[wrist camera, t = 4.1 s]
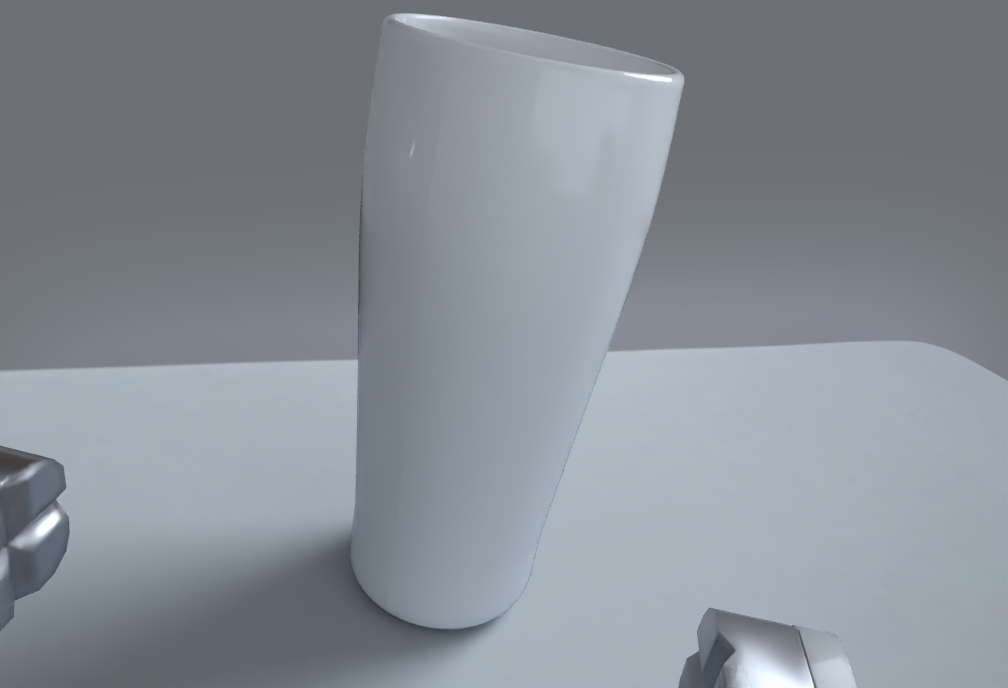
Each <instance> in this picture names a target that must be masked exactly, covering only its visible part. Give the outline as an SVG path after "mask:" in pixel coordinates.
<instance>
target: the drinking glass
mask: <svg viewBox="0 0 1008 688" xmlns="http://www.w3.org/2000/svg"><path fill="white" fill-rule="evenodd" d="M381 30H382V31H381V38H380V44H379V50H378V57H377V63H376V69H375V76H374V82H373V89H372V96H371V103H370V111H369V119H368V127H367V136H366V145H365V155H364V167H363V179H362V193H361V210H360V236H359V237H360V239H359V304H358V389H357V448H356V489H355V509H354V517H353V526H352V534H351V546H350V555H351V563H352V567H353V571H354V574H355V576H356V578H357V580H358V582H359V584H360V586H361V587H362V589H363V590H364V592H365V593H366V594H367V595H368V596H369V598H370V599H372V600H373V601H374V602H375V603H376V604H377V605H378V606H380V607H381V608H382V609H384V610H385V611H387V612H388V613H390V614H391V615H393V616H395V617H397V618H399V619H401V620H404V621H406V622H409V623H412V624H415V625H419V626H423V627H428V628H435V629H462V628H468V627H473V626H477V625H480V624H484V623H486V622H489V621H491V620H493V619H495V618H497V617H499V616H500V615H502V614H503V613H505V612H506V611H507V610H509V609H510V608H511V607H512V606H513V605H514V604H515V603H516V602H517V601H518V599H519V598H520V597H521V595H522V594H523V592H524V590H525V588H526V586H527V584H528V581H529V578H530V576H531V572H532V568H533V564H534V560H535V556H536V552H537V548H538V544H539V540H540V537H541V534H542V531H543V528H544V525H545V522H546V519H547V516H548V513H549V511H550V508H551V505H552V502H553V499H554V496H555V493H556V491H557V488H558V485H559V482H560V479H561V477H562V474H563V471H564V468H565V465H566V463H567V460H568V457H569V454H570V452H571V449H572V446H573V443H574V440H575V438H576V435H577V432H578V429H579V427H580V424H581V421H582V418H583V416H584V413H585V410H586V407H587V405H588V402H589V399H590V396H591V394H592V391H593V388H594V386H595V383H596V380H597V377H598V375H599V372H600V369H601V367H602V364H603V361H604V358H605V356H606V353H607V350H608V347H609V344H610V342H611V339H612V336H613V334H614V331H615V328H616V326H617V323H618V320H619V317H620V315H621V312H622V309H623V306H624V304H625V301H626V298H627V295H628V292H629V290H630V287H631V284H632V281H633V278H634V275H635V272H636V269H637V266H638V263H639V260H640V257H641V254H642V251H643V248H644V244H645V241H646V238H647V234H648V231H649V228H650V224H651V221H652V217H653V214H654V210H655V207H656V203H657V199H658V195H659V191H660V188H661V184H662V180H663V176H664V172H665V167H666V163H667V159H668V155H669V150H670V146H671V142H672V137H673V132H674V128H675V123H676V118H677V113H678V108H679V104H680V99H681V94H682V90H683V86H684V82H685V79H684V76H683V74H682V73H681V72H680V71H679V70H677V69H676V68H674V67H671V66H669V65H667V64H664V63H661V62H658V61H655V60H653V59H649V58H646V57H643V56H639V55H636V54H632V53H628V52H625V51H621V50H617V49H613V48H609V47H605V46H601V45H597V44H592V43H588V42H584V41H579V40H575V39H570V38H565V37H561V36H556V35H551V34H546V33H541V32H536V31H530V30H526V29H520V28H515V27H509V26H504V25H498V24H492V23H486V22H480V21H473V20H466V19H459V18H452V17H444V16H436V15H426V14H412V13H398V14H391V15H388V16H387V17H385V18H384V20H383V23H382V29H381Z"/></svg>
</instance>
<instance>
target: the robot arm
mask: <svg viewBox="0 0 1008 688" xmlns="http://www.w3.org/2000/svg"><path fill="white" fill-rule="evenodd" d="M65 489H66V482H65V474H64V467H63V465H61V464H60V463H58V462H57V461H56V460H54V459H51V458H47V457H43V456H39V455H35V454H31V453H27V452H23V451H19V450H15V449H11V448H7V447H3V446H0V631H1V630H2V629H3V628H4V627H5V626H6V624H7V623H8V622H9V621H10V620H11V619H12V618H13V617H14V601H15V600H17V599H19V598H22V597H24V596H27V595H29V594H31V593H34V592H36V591H39V590H40V589H41V588H42V587H43V586H44V584H45V583H46V582H47V581H48V580H49V579H50V578H51V577H52V576H53V575H54V573H55V572H56V570H57V568H58V566H59V564H60V562H61V560H62V558H63V556H64V554H65V552H66V549H67V544H68V539H69V533H70V531H69V517H68V515H67V514H66V513H65V511H64V510H63V509H62V507H61V506H60V505H59V503H58V502H57V500H56V499H57V498H58V496H59V495H60V494H61V493H62V492H63V491H64V490H65ZM697 635H698V644H699V652H697V653H695V654H694V655H692V656H690V657H689V658H687V660H686V663H685V666H684V669H683V672H682V675H681V678H680V682H679V688H858V686H857V683H856V680H855V678H854V675H853V672H852V669H851V666H850V664H849V661H848V658H847V655H846V652H845V650H844V647H843V644H842V641H841V640H840V639H839V638H838V637H837V635H836V634H834V633H829V632H825V631H820V630H815V629H810V628H805V627H800V626H795V625H792V626H789V625H786V624H782V623H777V622H772V621H768V620H763V619H759V618H754V617H750V616H745V615H741V614H736V613H731V612H727V611H722V610H718V609H713V608H709V609H708V610H707V611H706V613H705V614H704V615H703V618H702V620H701V623H700V625H699V628H698V630H697Z"/></svg>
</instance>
